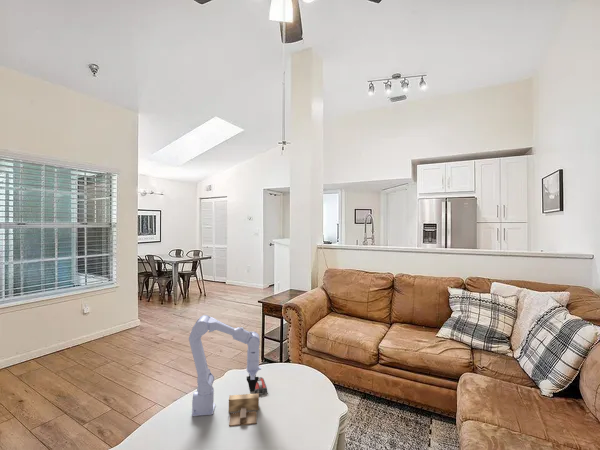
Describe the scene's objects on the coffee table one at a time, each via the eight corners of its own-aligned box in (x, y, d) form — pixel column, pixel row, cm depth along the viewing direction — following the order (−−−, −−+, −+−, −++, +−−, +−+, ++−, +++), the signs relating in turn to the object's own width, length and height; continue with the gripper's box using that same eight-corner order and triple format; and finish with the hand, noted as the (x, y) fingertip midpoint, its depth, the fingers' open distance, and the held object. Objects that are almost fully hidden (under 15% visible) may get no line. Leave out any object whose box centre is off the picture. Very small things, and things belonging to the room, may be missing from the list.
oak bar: (228, 412, 137) (228, 399, 137) (229, 407, 140) (229, 395, 140) (258, 410, 139) (258, 397, 139) (258, 405, 143) (258, 393, 143)
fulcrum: (228, 426, 128) (229, 419, 127) (230, 414, 135) (230, 407, 135) (256, 423, 129) (256, 417, 129) (256, 412, 137) (256, 405, 137)
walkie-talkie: (247, 383, 162) (252, 405, 143) (247, 375, 162) (252, 396, 143) (263, 381, 165) (270, 402, 146) (263, 373, 165) (270, 393, 146)
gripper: (261, 365, 134) (260, 395, 134) (261, 351, 148) (260, 378, 148) (246, 366, 133) (245, 396, 133) (247, 352, 147) (246, 378, 147)
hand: (252, 386), depth 141 cm, fingers open, 7 cm apart
